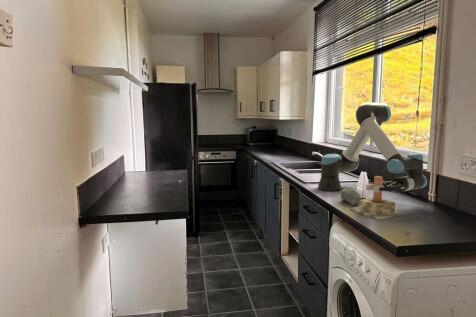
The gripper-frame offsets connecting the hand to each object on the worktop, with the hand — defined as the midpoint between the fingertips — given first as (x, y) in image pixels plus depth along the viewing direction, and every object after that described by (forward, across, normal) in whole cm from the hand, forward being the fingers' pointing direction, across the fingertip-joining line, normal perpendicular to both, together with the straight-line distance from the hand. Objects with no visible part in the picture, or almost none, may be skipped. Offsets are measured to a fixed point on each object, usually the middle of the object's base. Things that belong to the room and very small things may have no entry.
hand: (370, 188), depth 163 cm
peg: (-5, 0, -8) cm, 10 cm away
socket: (-5, 0, -13) cm, 14 cm away
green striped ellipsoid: (-6, +20, -14) cm, 25 cm away
